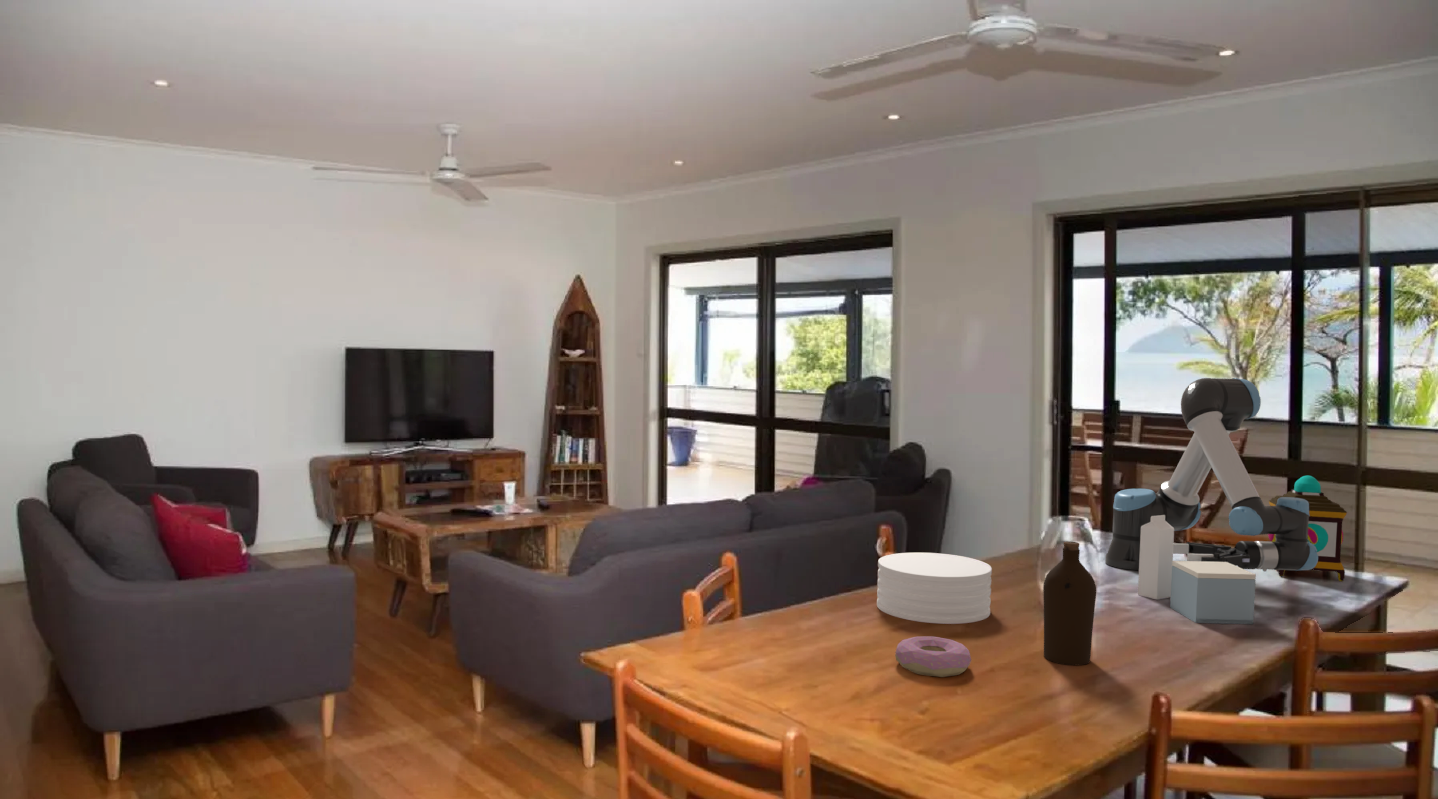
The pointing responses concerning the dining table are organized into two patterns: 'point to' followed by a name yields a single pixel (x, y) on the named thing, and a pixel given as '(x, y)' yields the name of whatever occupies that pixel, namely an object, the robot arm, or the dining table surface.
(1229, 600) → the box
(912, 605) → the plate stack
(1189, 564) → the lid
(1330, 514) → the decorative lantern
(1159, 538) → the milk
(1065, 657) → the olive oil
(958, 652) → the donut
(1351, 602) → the dining table surface
